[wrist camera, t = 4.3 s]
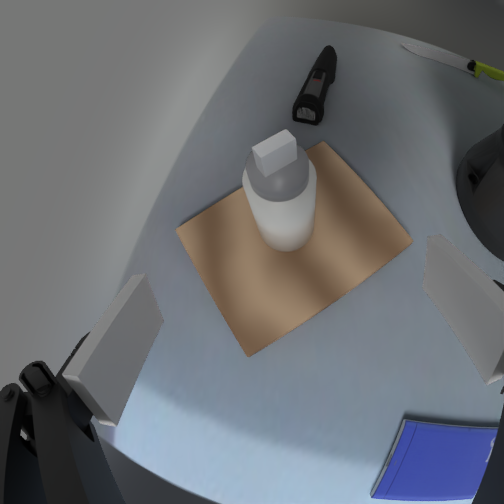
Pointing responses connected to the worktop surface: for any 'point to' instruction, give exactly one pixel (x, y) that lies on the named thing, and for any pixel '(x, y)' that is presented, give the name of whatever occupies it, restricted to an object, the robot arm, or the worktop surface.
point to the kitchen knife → (456, 62)
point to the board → (292, 254)
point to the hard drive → (435, 462)
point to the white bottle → (281, 191)
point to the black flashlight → (316, 89)
